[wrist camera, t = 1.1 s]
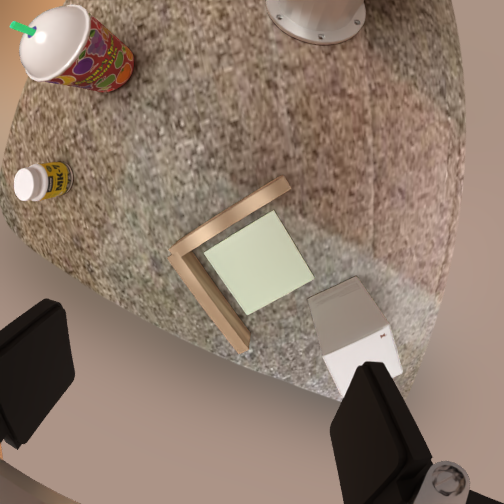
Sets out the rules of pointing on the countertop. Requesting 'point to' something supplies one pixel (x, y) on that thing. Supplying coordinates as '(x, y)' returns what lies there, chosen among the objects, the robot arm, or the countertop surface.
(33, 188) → the supplement bottle
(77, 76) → the smoothie
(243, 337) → the wooden corner guide
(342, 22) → the robot arm
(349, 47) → the countertop surface
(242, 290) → the pad
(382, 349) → the supplement box
